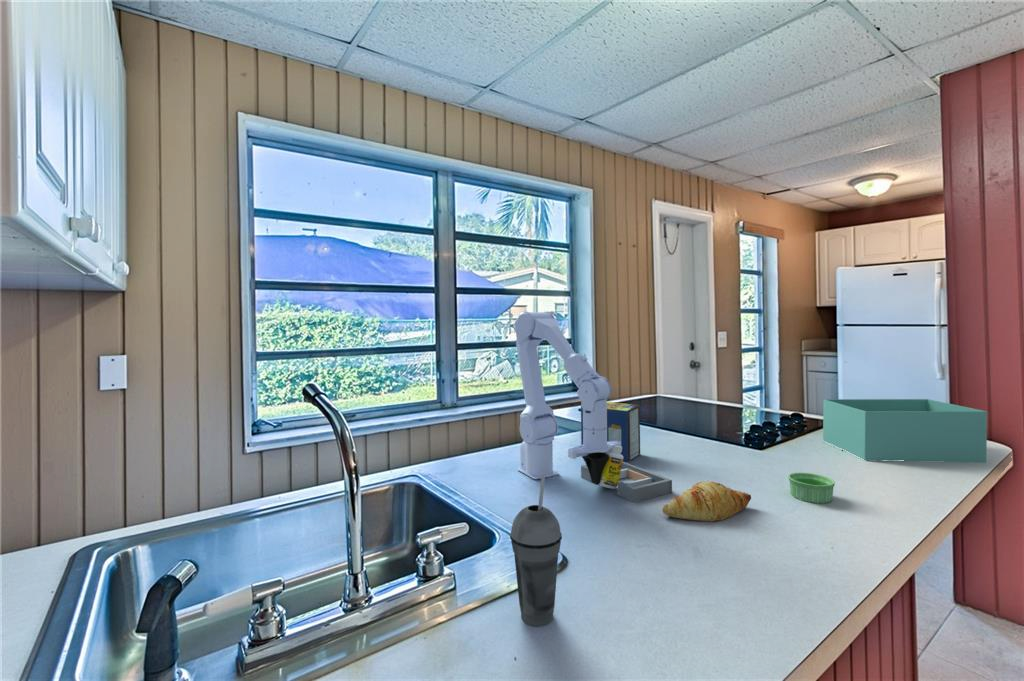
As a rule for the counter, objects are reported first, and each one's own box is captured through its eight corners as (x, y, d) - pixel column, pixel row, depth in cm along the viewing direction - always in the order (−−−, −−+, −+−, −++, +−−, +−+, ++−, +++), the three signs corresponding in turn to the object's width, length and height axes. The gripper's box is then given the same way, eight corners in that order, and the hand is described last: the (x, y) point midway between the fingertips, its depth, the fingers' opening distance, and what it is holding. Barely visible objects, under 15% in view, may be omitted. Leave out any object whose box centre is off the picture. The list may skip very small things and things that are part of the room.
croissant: (671, 541, 93) (682, 514, 90) (647, 502, 102) (656, 476, 98) (758, 525, 99) (771, 499, 95) (728, 489, 107) (739, 464, 103)
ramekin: (825, 492, 109) (825, 473, 109) (841, 506, 101) (841, 487, 100) (783, 489, 112) (783, 471, 111) (795, 503, 103) (795, 483, 103)
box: (986, 463, 129) (987, 411, 128) (864, 461, 132) (865, 411, 131) (927, 443, 149) (927, 399, 149) (822, 442, 152) (823, 399, 152)
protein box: (595, 447, 151) (594, 400, 150) (640, 454, 142) (640, 404, 141) (580, 455, 143) (579, 405, 142) (628, 463, 134) (627, 410, 133)
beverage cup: (509, 602, 68) (506, 468, 67) (557, 598, 69) (556, 466, 68) (513, 635, 61) (511, 486, 60) (568, 631, 62) (566, 483, 61)
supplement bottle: (604, 488, 110) (614, 446, 110) (589, 481, 114) (598, 440, 115) (621, 490, 112) (630, 448, 113) (606, 483, 117) (614, 443, 118)
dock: (581, 476, 122) (581, 465, 122) (616, 469, 128) (616, 458, 128) (633, 502, 105) (633, 489, 105) (672, 492, 110) (671, 480, 110)
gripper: (580, 434, 105) (581, 493, 105) (629, 427, 111) (629, 482, 112) (562, 428, 111) (563, 484, 111) (610, 421, 118) (610, 474, 118)
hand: (595, 483), depth 112 cm, fingers closed
